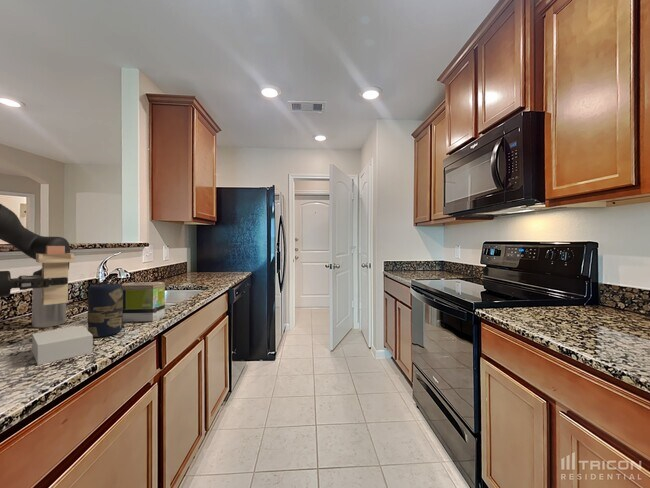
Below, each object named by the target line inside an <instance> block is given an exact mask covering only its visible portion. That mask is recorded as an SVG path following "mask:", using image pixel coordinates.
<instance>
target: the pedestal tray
mask: <svg viewBox="0 0 650 488" xmlns="http://www.w3.org/2000/svg"><path fill="white" fill-rule="evenodd" d="M35 262H36V263H38V264H41V269H42V278H61V277H67V278H68V279H69V270H68V262H70V263H74V262H75V254H74V253H71V252H70V253H65V254H46V253H45V254H36V260H35ZM42 285H44V281H42ZM68 299H69V282H68V283H67V284H64V285H51V286H49V287H47V288H45V287H43V288H42V304H43V305H50V304H59V303H66V304H67V303H69V300H68Z"/></svg>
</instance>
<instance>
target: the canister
mask: <svg viewBox="0 0 650 488" xmlns="http://www.w3.org/2000/svg"><path fill="white" fill-rule="evenodd" d="M122 284H123V283H115V282H113V281H112V282H111V281H102V282H98V283H97V284H93V285H89V286H88V289H87V330H88V331H89V332H90V333H91V334H92V335H93V337H94V338H95V337H97V338H99V337H107V336H108V337H109V336H111V335H112V336H113V335H116V334H118V333H120V332H121V331H122V330H123V323H124V322H123V286H122Z"/></svg>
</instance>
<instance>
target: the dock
mask: <svg viewBox="0 0 650 488" xmlns="http://www.w3.org/2000/svg"><path fill="white" fill-rule="evenodd" d="M31 339H32V340H31V342H32V344H31V347H32V349H31V352H32V354H33V357H34V359H35V362H36V364H37V366H39V365H45V364H49V363H52V362H58V361H62V360H67V359H71V358H75V357H79V356H83V355H89V354H93V350H94V349H93V348H94V346H93V341H94V338H93V335H92V334H91V333H90V332H89V331H88V329H87V328H85V327H84V326H83V325H79V326H72V327H67V328H65V327H64V328H60V329H53V330H47V331H42V332H35V333H32V334H31Z"/></svg>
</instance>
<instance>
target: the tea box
mask: <svg viewBox="0 0 650 488" xmlns="http://www.w3.org/2000/svg"><path fill="white" fill-rule="evenodd" d="M121 284H122V286H123V323H125V322H126V323H130V322H131V323H133V322H137V323H138V322H141V323H142V322H155V321H157V320H160V319H162V318H164V317H165V313H166V312H165V311H166V310H165V309H166V292H165V291H166V290H165V289H166V283H165V281H164V282H163V281H153V282H152V281H151V282H150V281H149V282H148V281H144V282H143V281H142V282H125V283H121Z"/></svg>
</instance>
